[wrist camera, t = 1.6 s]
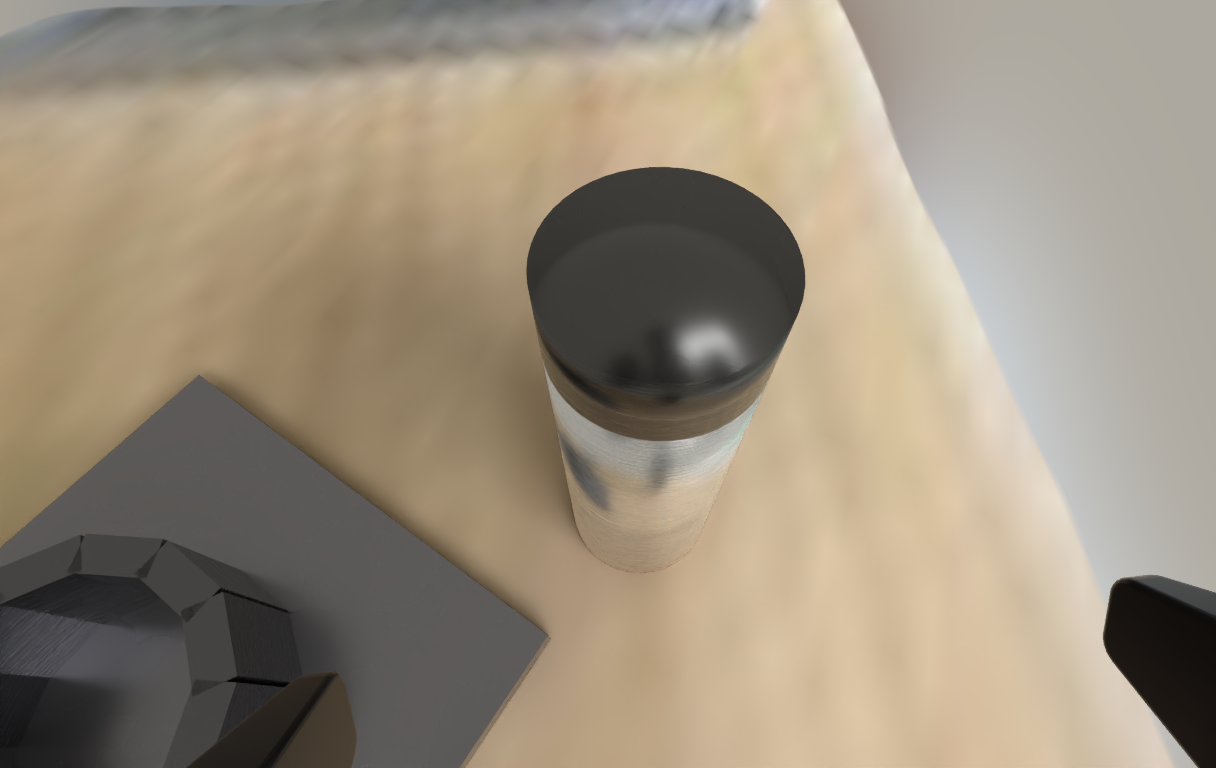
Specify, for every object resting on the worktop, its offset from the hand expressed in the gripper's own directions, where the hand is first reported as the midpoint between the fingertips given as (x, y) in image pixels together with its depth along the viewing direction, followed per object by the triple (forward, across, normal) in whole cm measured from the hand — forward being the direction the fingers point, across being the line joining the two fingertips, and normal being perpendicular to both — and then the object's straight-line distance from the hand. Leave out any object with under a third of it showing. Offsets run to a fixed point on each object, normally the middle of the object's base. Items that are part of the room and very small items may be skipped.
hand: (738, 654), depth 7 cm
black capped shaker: (+13, 0, +5) cm, 14 cm away
